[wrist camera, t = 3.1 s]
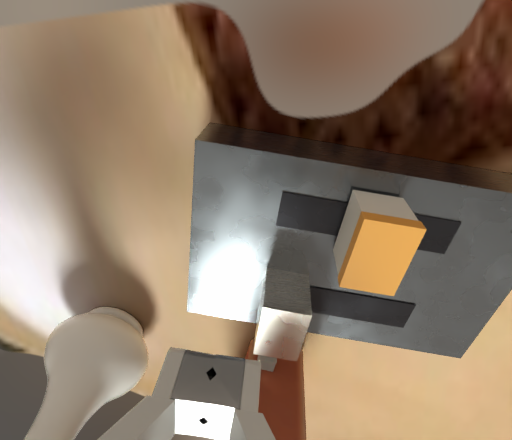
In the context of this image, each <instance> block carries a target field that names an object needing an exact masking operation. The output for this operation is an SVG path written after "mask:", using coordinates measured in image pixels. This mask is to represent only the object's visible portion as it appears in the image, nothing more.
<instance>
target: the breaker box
mask: <svg viewBox="0 0 512 440" xmlns="http://www.w3.org/2000/svg"><path fill="white" fill-rule="evenodd" d="M353 190H358V191H364V192H370V193H376V194H382V195H388V196H394V197H400V198H404V200H405V201H406V203H407V204H408V206H409V207H410V209H411V210H412V211H413V213H414V214H415V216H416V217H417V219H418V220H419V221H421V222H422V223H423V225H424V226H425V228H426V229H427V230H426V232H425V234H424V236H423V238H422V240H421V242H420V244H419V246H418V248H417V250H416V252H415V254H414V256H413V258H412V260H411V262H410V265H409V267H408V269H407V271H406V273H405V275H404V277H403V279H402V281H401V283H400V285H399V287H398V289H397V291H396V293H395V295H394V296H389V295H383V294H377V293H371V292H365V291H360V290H354V289H348V288H342V287H339V283H338V272H337V267H336V262H335V257H334V252H333V248H334V245H335V242H336V239H337V236H338V233H339V230H340V227H341V224H342V221H343V218H344V215H345V212H346V209H347V206H348V203H349V200H350V197H351V194H352V191H353ZM511 290H512V174H511V173H505V172H499V171H493V170H487V169H481V168H475V167H469V166H463V165H457V164H452V163H446V162H440V161H434V160H428V159H422V158H416V157H410V156H404V155H398V154H392V153H386V152H381V151H375V150H369V149H363V148H357V147H351V146H345V145H339V144H333V143H327V142H321V141H316V140H310V139H304V138H298V137H292V136H286V135H280V134H274V133H268V132H262V131H256V130H250V129H245V128H239V127H233V126H227V125H221V124H215V123H209V124H208V125H207V127H206V128H205V129H204V130H203V131H202V132H201V134H200V135H199V136H198V137H197V138H196V139H195V155H194V175H193V196H192V217H191V238H190V259H189V280H188V301H187V312H192V313H198V314H204V315H210V316H216V317H222V318H228V319H233V320H239V321H245V322H251V323H256V331H255V340H254V349H253V354H256V355H262V356H268V357H274V358H280V359H285V360H291V361H297V360H298V357H299V354H300V351H301V348H302V345H303V342H304V339H305V336H306V333H307V332H310V333H315V334H321V335H327V336H333V337H339V338H345V339H351V340H356V341H362V342H368V343H374V344H380V345H386V346H392V347H397V348H403V349H409V350H415V351H421V352H427V353H433V354H438V355H444V356H450V357H456V358H461V357H462V356H463V354H464V353H465V352H466V350H467V349H468V348H469V346H470V345H471V344H472V342H473V341H474V340H475V338H476V337H477V336H478V334H479V333H480V331H481V330H482V329H483V327H484V326H485V325H486V323H487V322H488V321H489V319H490V318H491V317H492V315H493V314H494V313H495V311H496V310H497V308H498V307H499V306H500V304H501V303H502V302H503V300H504V299H505V298H506V296H507V295H508V294H509V292H510V291H511Z"/></svg>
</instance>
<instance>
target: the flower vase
mask: <svg viewBox="0 0 512 440" xmlns="http://www.w3.org/2000/svg"><path fill="white" fill-rule="evenodd" d="M44 364H45V368H46V372H47V377H48V383H47V390H46V393H45V397H44V400H43V403H42V406H41V408H40V410H39V412H38V414H37V417H36V419H35V420H34V422H33V424H32V426H31V428H30V430H29V431H28V433H27V435H26V436H25V438H24V440H74V439H75V437H76V436H77V434H78V433H79V431H80V430H81V428H82V427H83V426H84V424H85V423H86V422H87V421H88V420H89V418H90V417H91V416H92V415H93V414H94V413H95V412H96V411H97V410H98V409H99V408H100V407H101V406H102V405H104V404H105V403H107V402H109V401H111V400H113V399H116V398H118V397H120V396H122V395H124V394H125V393H127V392H128V391H130V390H131V389H132V388H133V387H134V386H135V385H137V384H138V382H139V381H140V380H141V378H142V377H143V375H144V373H145V371H146V369H147V367H148V350H147V347H146V344H145V341H144V339H143V329H142V327H141V325H140V324H139V322H138V321H137V320H136V319H135V318H134V317H133V316H132V315H130V314H129V313H127V312H125V311H123V310H120V309H117V308H112V307H99V308H95V309H93V310H91V311H89V312H88V313H84V314H80V315H75V316H72V317H70V318H68V319H66V320H65V321H63V322H61V323H60V324H58V325H57V326H56V328H55V329H54V330H53V332H52V333H51V334H50V336H49V338H48V340H47V343H46V347H45V353H44Z"/></svg>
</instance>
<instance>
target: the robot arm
mask: <svg viewBox="0 0 512 440" xmlns="http://www.w3.org/2000/svg"><path fill="white" fill-rule="evenodd" d="M260 376H261V362H260V361H256V360H248V359H245V358H238V357H231V356H224V355H213V354H208V353H202V352H196V351H190V350H185V349H179V348H172V347H170V349H169V351H168V352H167V355H166V358H165V361H164V363H163V366H162V369H161V372H160V374H159V377H158V380H157V383H156V386H155V388H154V391H153V394H152V396H146V397H145V398H144V399H143V400H141V401H140V402H139V403H138V404H137V405H136V406H135V407H134V408H132V409H131V410H130V411H129V412H128V413H127V414H126V415H125V416H123V417H122V418H121V419H120V420H119V421H118V422H117V423H116V424H114V425H113V426H112V427H111V428H110V429H109V430H108V431H107V432H105V433H104V434H103V435H102V436H101V437H100V438H99V439H98V440H171V439H172V437H173V436H174V433H176V434H184V435H193V436H202V437H206V438H212V439H217V440H276V439H275V437H274V435H273V433H272V431H271V429H270V427H269V425H268V423H267V421H266V419H265V417H264V415H263V413H258V407H259V391H260Z"/></svg>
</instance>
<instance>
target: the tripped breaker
mask: <svg viewBox="0 0 512 440" xmlns="http://www.w3.org/2000/svg"><path fill="white" fill-rule="evenodd" d="M426 230H427V229H426V228H425V226H424V225H423V223H422V222H421V221H419V220H418V219H417V217H416V216H415V214H414V213H413V211H412V210H411V209H410V207H409V206H408V204H407V203H406V201H405V200H404V198H400V197H394V196H388V195H382V194H376V193H370V192H364V191H358V190H353V191H352V194H351V197H350V200H349V203H348V206H347V209H346V212H345V215H344V218H343V221H342V224H341V227H340V230H339V233H338V236H337V239H336V242H335V245H334V248H333V252H334V257H335V262H336V267H337V272H338V283H339V287H342V288H348V289H354V290H360V291H365V292H371V293H377V294H383V295H389V296H394V295H395V293H396V291H397V289H398V287H399V285H400V283H401V281H402V279H403V277H404V275H405V273H406V271H407V269H408V267H409V265H410V262H411V260H412V258H413V256H414V254H415V252H416V250H417V248H418V246H419V244H420V242H421V240H422V238H423V236H424V234H425V232H426Z"/></svg>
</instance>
